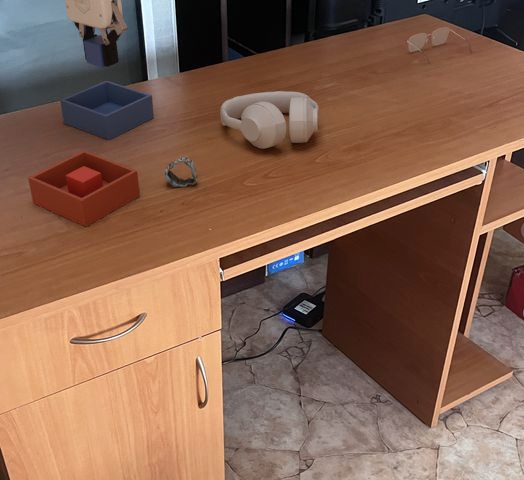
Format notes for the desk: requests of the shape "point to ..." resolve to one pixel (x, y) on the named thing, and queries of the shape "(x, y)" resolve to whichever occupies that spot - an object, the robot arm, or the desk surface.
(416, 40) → the eyeglasses
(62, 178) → the red bin
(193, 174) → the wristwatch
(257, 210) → the desk surface
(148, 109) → the blue bin
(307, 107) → the headphones
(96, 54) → the blue block
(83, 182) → the red block
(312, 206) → the desk surface
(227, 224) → the desk surface
